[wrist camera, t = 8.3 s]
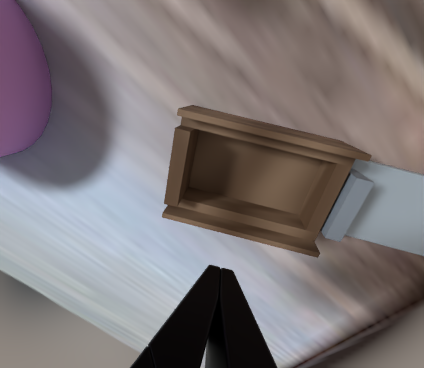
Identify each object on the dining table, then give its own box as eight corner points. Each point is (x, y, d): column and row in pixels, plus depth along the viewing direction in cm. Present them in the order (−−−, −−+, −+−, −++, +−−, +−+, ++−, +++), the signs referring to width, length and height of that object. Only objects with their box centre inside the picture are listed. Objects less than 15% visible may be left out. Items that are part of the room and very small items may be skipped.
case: (341, 141, 17) (371, 155, 13) (302, 225, 20) (317, 257, 16) (192, 105, 18) (177, 108, 14) (177, 193, 21) (161, 217, 17)
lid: (464, 184, 18) (522, 207, 14) (416, 247, 20) (454, 281, 17) (336, 151, 18) (360, 166, 14) (305, 218, 21) (318, 245, 17)
